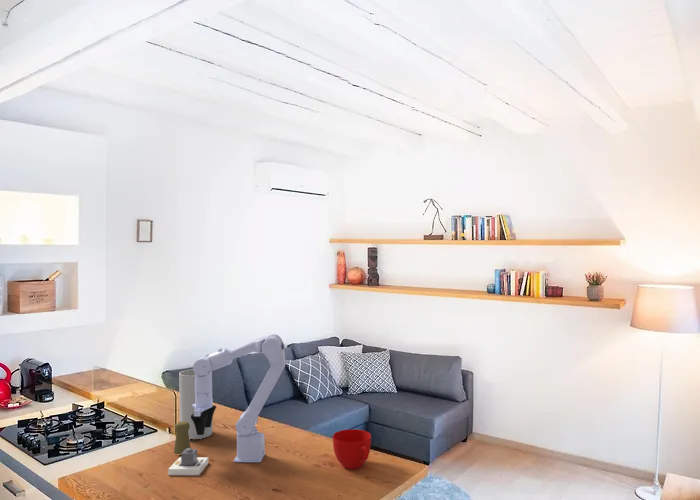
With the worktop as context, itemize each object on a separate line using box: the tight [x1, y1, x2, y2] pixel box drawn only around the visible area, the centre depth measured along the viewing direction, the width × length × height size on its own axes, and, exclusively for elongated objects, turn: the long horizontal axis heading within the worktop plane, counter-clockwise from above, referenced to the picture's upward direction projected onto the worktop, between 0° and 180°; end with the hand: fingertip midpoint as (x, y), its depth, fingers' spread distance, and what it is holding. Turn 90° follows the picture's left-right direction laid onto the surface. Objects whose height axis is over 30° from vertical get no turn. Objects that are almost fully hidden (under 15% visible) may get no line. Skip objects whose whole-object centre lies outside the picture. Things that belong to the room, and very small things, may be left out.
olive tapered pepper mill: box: [173, 421, 192, 454], centre depth 195 cm, size 6×6×11 cm
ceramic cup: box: [332, 428, 372, 470], centre depth 180 cm, size 13×17×10 cm
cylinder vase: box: [178, 368, 214, 440], centre depth 213 cm, size 12×12×25 cm
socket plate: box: [167, 456, 209, 476], centre depth 180 cm, size 10×10×2 cm
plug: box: [180, 447, 198, 466], centre depth 180 cm, size 4×4×7 cm
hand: (204, 430), depth 188 cm, fingers open, 7 cm apart
